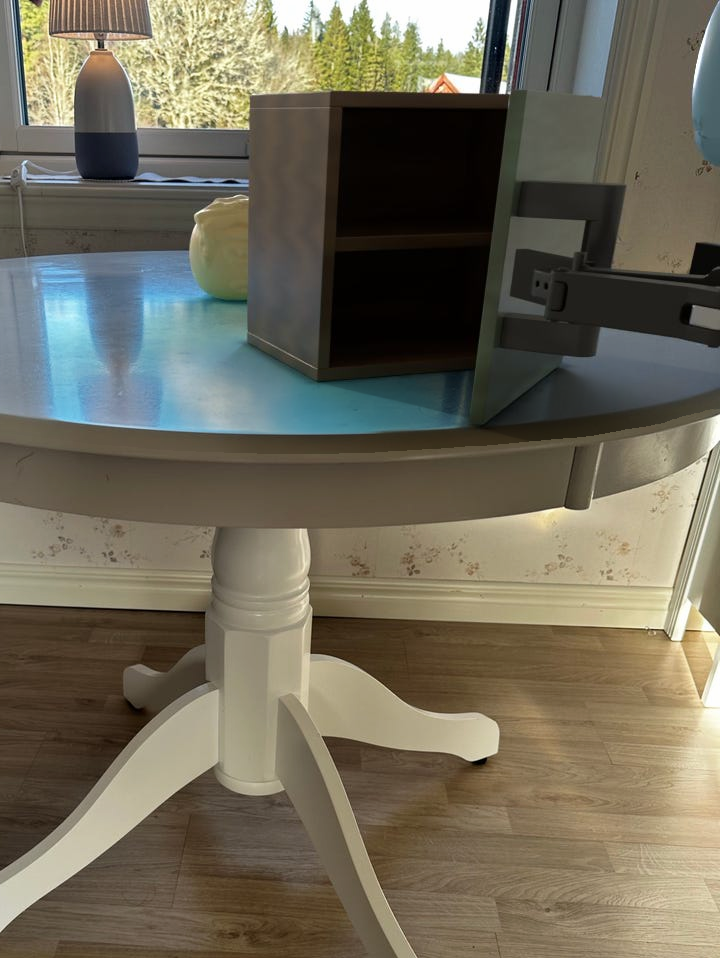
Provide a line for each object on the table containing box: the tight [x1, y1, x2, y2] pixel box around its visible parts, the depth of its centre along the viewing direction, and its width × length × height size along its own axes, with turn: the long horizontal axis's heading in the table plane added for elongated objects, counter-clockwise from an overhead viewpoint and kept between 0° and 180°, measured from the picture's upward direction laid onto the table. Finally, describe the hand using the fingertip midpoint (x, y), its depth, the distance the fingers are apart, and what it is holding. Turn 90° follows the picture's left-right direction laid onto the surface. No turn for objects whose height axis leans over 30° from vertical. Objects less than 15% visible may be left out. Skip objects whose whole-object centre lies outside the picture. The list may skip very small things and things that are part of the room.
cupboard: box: [246, 89, 589, 383], centre depth 81 cm, size 16×22×20 cm
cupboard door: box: [468, 89, 628, 426], centre depth 67 cm, size 7×22×20 cm, turn 150°
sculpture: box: [188, 194, 249, 301], centre depth 109 cm, size 11×12×11 cm
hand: (609, 268), depth 60 cm, fingers open, 13 cm apart
